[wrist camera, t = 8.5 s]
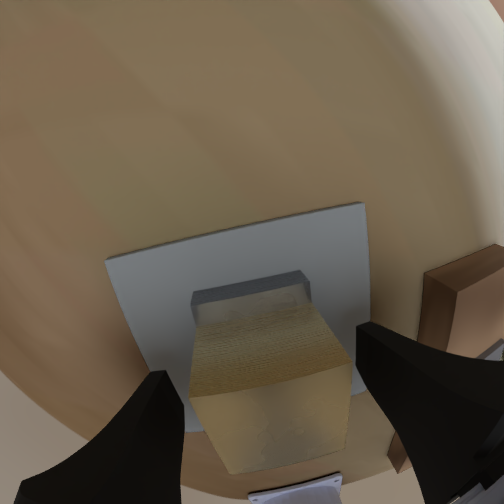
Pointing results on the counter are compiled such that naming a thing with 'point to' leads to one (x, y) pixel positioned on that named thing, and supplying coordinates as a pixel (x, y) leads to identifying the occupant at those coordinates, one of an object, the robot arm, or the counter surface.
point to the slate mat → (239, 270)
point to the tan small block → (268, 374)
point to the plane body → (461, 315)
